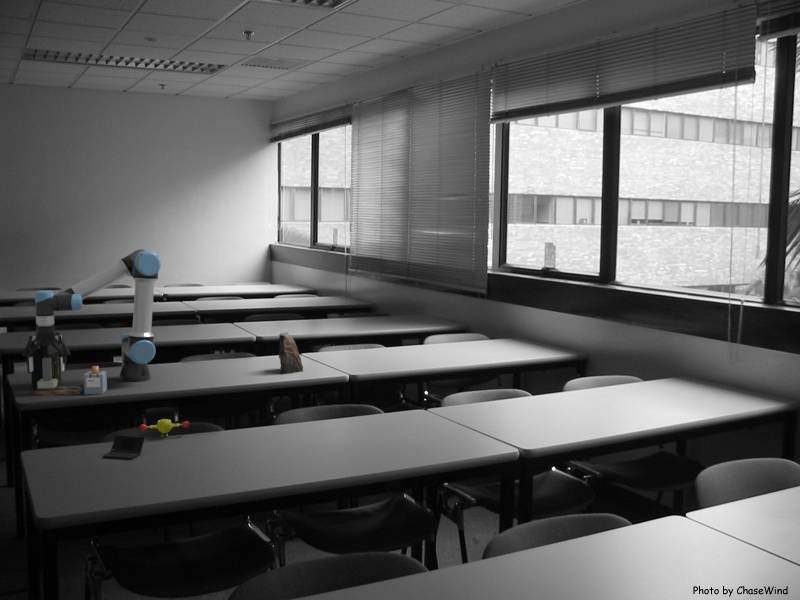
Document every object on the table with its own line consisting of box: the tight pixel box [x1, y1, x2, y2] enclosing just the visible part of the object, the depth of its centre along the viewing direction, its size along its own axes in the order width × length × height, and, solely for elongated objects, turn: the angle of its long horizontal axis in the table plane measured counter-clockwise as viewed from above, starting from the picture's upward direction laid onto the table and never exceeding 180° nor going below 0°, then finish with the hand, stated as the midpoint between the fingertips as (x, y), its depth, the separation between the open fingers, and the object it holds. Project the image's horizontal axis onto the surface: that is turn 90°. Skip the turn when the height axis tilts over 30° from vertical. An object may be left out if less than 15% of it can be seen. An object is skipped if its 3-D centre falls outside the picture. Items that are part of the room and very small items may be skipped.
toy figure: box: [138, 418, 190, 438], centre depth 290 cm, size 18×6×7 cm, turn 109°
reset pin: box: [91, 365, 100, 378], centre depth 359 cm, size 3×3×5 cm
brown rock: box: [278, 331, 304, 375], centre depth 412 cm, size 13×13×20 cm
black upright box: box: [29, 331, 62, 389], centre depth 370 cm, size 16×9×25 cm, turn 177°
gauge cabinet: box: [83, 370, 108, 395], centre depth 359 cm, size 8×8×9 cm
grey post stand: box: [37, 358, 58, 388], centre depth 356 cm, size 7×6×13 cm
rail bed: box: [33, 385, 83, 396], centre depth 357 cm, size 19×7×3 cm, turn 98°
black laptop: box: [102, 435, 145, 461], centre depth 268 cm, size 12×7×10 cm
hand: (47, 371), depth 356 cm, fingers open, 13 cm apart
